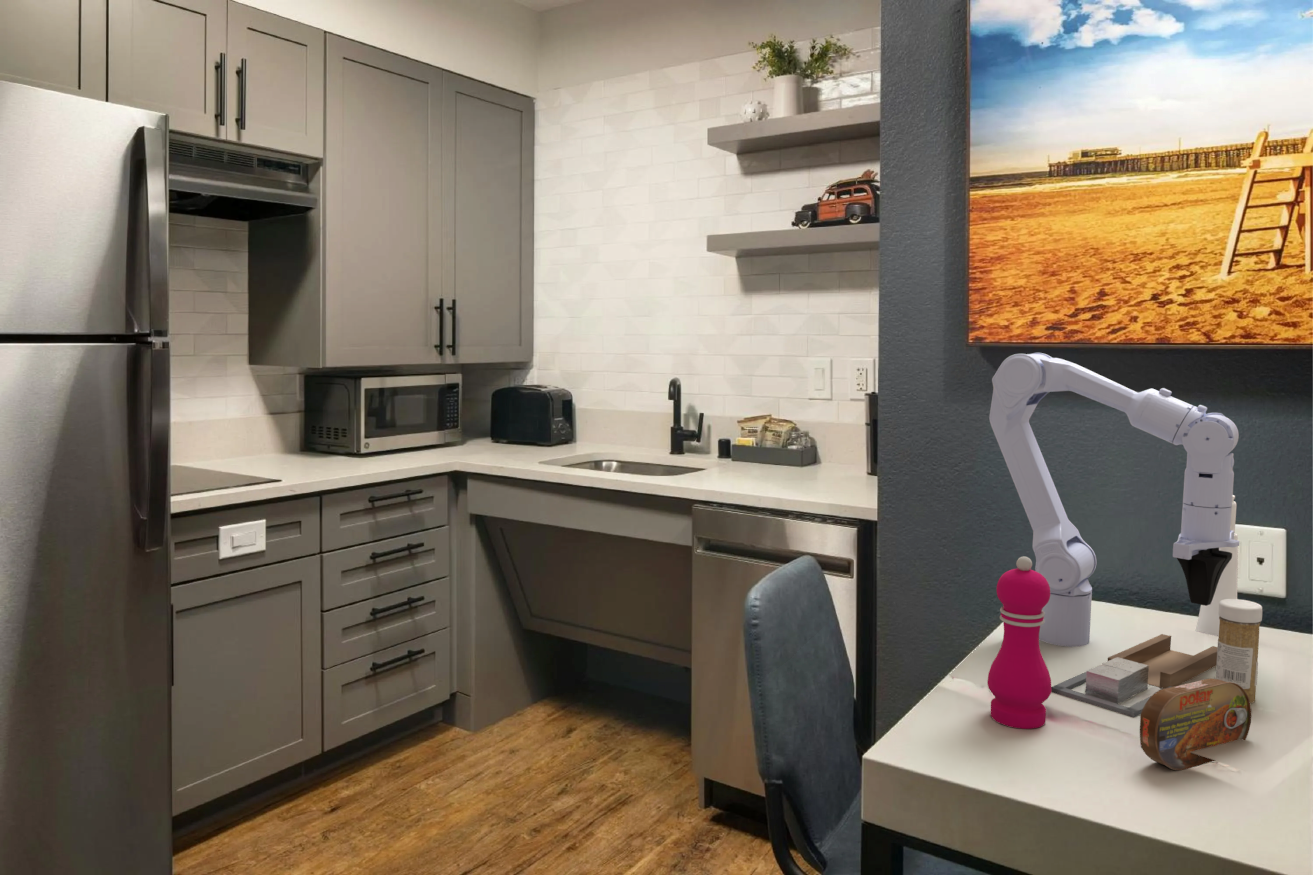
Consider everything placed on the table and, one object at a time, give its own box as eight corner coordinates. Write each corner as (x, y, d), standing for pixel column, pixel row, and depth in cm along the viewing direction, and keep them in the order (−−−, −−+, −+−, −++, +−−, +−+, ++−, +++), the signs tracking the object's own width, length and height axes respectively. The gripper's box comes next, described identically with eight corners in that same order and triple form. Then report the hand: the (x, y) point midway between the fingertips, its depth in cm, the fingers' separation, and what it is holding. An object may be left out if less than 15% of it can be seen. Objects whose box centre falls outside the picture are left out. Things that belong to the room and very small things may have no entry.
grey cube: (1100, 693, 122) (1101, 663, 121) (1115, 686, 124) (1117, 656, 124) (1131, 703, 118) (1133, 672, 118) (1147, 695, 121) (1148, 665, 120)
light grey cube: (1084, 701, 119) (1086, 670, 118) (1100, 694, 121) (1102, 664, 121) (1116, 711, 116) (1118, 680, 115) (1132, 703, 118) (1134, 672, 118)
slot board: (1106, 683, 127) (1107, 657, 126) (1160, 657, 137) (1162, 633, 136) (1169, 701, 120) (1170, 674, 120) (1221, 673, 130) (1222, 648, 130)
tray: (1049, 702, 120) (1050, 687, 120) (1097, 680, 128) (1098, 666, 127) (1133, 729, 112) (1134, 712, 112) (1179, 703, 120) (1180, 688, 119)
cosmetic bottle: (1230, 644, 142) (1240, 499, 140) (1187, 635, 147) (1196, 494, 144) (1246, 637, 146) (1256, 495, 143) (1204, 627, 151) (1213, 490, 148)
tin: (1156, 777, 100) (1161, 700, 99) (1131, 764, 103) (1135, 689, 102) (1252, 752, 106) (1257, 679, 105) (1225, 741, 109) (1230, 669, 108)
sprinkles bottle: (1262, 710, 118) (1270, 604, 116) (1244, 718, 115) (1251, 610, 114) (1223, 698, 121) (1230, 595, 120) (1205, 706, 119) (1212, 601, 117)
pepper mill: (1048, 711, 117) (1055, 552, 115) (1051, 734, 110) (1059, 565, 108) (986, 703, 120) (992, 547, 117) (985, 726, 113) (992, 560, 111)
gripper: (1216, 515, 120) (1210, 620, 121) (1261, 502, 129) (1254, 600, 130) (1158, 507, 125) (1153, 607, 127) (1205, 495, 134) (1199, 589, 136)
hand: (1200, 603), depth 129 cm, fingers closed
